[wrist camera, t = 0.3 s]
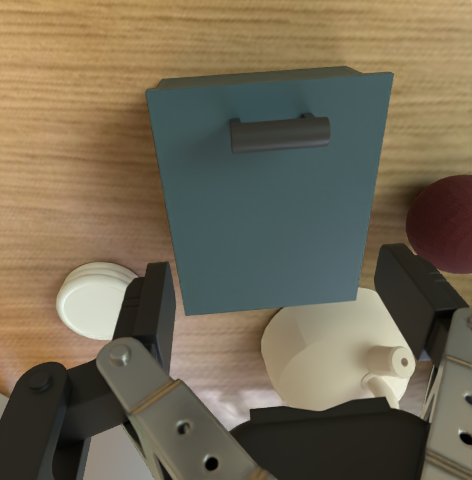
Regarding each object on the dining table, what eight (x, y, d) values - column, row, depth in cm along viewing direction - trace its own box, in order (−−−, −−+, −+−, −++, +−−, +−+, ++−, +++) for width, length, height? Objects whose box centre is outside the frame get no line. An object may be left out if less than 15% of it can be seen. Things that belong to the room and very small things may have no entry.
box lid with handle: (146, 88, 25) (134, 106, 20) (389, 71, 25) (427, 85, 21) (185, 310, 36) (183, 352, 31) (353, 295, 36) (373, 334, 32)
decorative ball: (494, 200, 42) (566, 249, 33) (417, 253, 45) (465, 310, 37) (454, 140, 37) (526, 179, 29) (373, 204, 41) (416, 255, 32)
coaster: (163, 303, 47) (160, 323, 44) (100, 331, 49) (93, 352, 46) (114, 246, 42) (107, 265, 39) (46, 281, 44) (34, 301, 41)
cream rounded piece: (431, 300, 50) (529, 430, 35) (355, 391, 60) (406, 522, 45) (297, 266, 45) (343, 400, 30) (240, 371, 55) (253, 511, 40)
